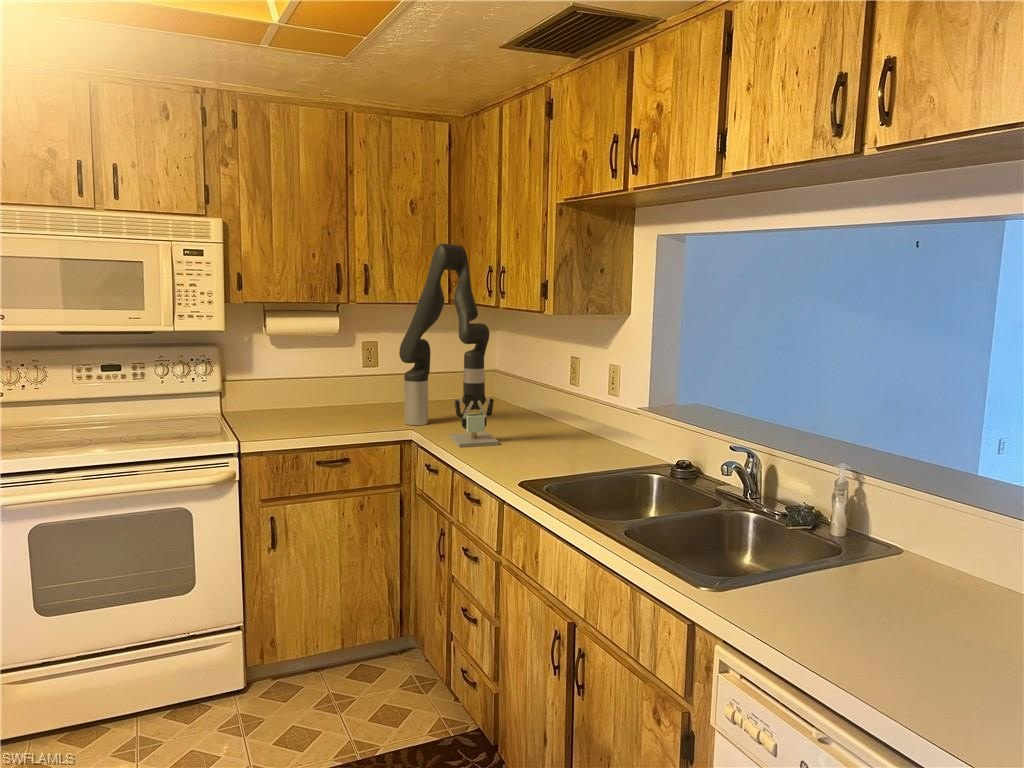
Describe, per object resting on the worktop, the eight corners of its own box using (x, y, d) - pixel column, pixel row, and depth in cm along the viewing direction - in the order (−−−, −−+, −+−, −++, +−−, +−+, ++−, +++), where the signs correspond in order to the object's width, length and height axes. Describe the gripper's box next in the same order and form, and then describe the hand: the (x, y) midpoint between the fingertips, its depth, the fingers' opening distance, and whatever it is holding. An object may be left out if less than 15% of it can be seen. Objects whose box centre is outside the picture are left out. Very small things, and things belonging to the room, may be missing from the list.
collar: (463, 429, 261) (463, 413, 260) (480, 428, 263) (480, 412, 262) (467, 432, 255) (467, 416, 255) (484, 431, 257) (484, 415, 256)
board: (449, 437, 265) (449, 414, 264) (487, 435, 269) (487, 413, 268) (459, 447, 250) (459, 423, 249) (499, 445, 254) (499, 421, 253)
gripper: (491, 378, 262) (491, 425, 265) (451, 380, 258) (451, 427, 261) (496, 381, 255) (496, 429, 258) (456, 383, 251) (456, 431, 253)
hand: (474, 427), depth 259 cm, fingers closed on collar, 6 cm apart
